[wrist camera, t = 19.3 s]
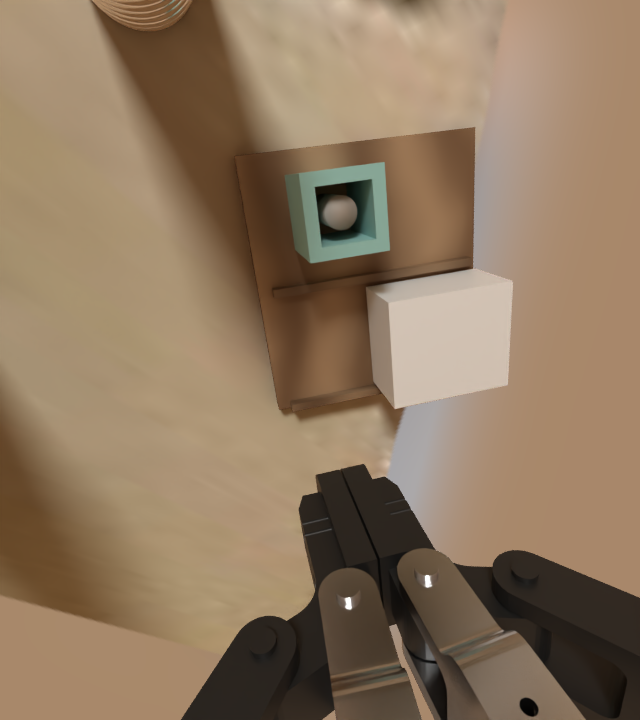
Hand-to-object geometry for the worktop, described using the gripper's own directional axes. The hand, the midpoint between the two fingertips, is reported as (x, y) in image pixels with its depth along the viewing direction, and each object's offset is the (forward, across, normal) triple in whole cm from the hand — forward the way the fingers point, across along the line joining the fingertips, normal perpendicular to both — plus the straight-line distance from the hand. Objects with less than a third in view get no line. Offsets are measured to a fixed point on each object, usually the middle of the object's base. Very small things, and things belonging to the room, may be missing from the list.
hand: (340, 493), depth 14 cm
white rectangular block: (+22, -12, +4) cm, 25 cm away
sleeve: (+22, -5, -6) cm, 23 cm away
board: (+23, -8, -1) cm, 24 cm away
